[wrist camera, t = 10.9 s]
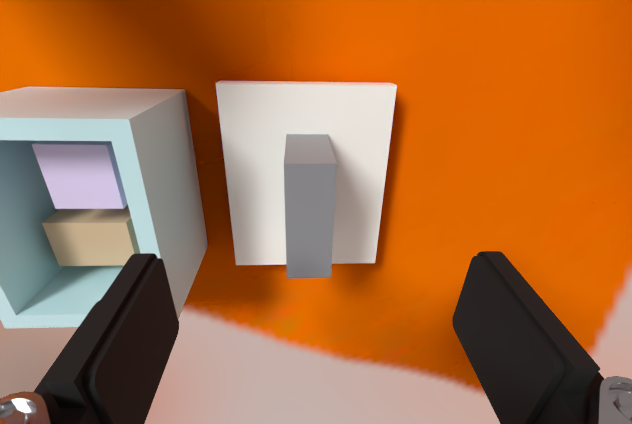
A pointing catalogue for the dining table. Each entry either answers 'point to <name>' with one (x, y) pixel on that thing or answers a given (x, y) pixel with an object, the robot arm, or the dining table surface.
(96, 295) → the tub
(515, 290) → the robot arm
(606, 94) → the dining table surface
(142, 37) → the dining table surface
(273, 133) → the lid
